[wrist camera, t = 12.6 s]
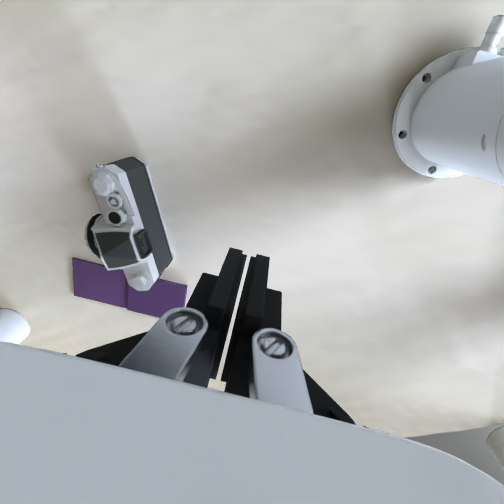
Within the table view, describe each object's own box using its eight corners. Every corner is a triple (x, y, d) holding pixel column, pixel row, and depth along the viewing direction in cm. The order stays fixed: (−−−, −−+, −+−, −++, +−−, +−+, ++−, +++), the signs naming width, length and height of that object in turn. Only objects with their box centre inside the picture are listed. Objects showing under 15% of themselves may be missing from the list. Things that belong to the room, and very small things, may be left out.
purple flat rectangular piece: (73, 257, 45) (70, 259, 45) (187, 285, 45) (186, 287, 45) (75, 294, 48) (72, 296, 48) (182, 320, 48) (181, 323, 48)
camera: (87, 161, 38) (27, 176, 29) (149, 151, 37) (105, 164, 28) (127, 267, 45) (88, 307, 36) (180, 262, 44) (154, 302, 35)
